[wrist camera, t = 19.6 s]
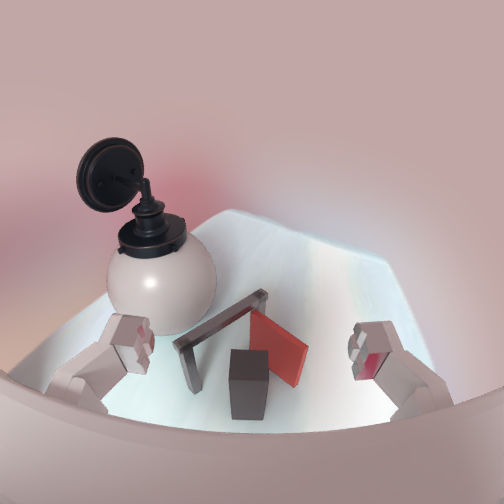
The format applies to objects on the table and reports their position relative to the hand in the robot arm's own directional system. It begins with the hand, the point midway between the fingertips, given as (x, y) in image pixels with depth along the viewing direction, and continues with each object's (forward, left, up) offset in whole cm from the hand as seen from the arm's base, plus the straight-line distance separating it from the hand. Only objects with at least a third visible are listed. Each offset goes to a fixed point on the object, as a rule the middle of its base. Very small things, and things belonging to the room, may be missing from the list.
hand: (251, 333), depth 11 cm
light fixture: (-31, +19, -32) cm, 48 cm away
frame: (-13, +15, -32) cm, 38 cm away
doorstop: (-6, +10, -32) cm, 34 cm away
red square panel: (-6, +19, -31) cm, 37 cm away
